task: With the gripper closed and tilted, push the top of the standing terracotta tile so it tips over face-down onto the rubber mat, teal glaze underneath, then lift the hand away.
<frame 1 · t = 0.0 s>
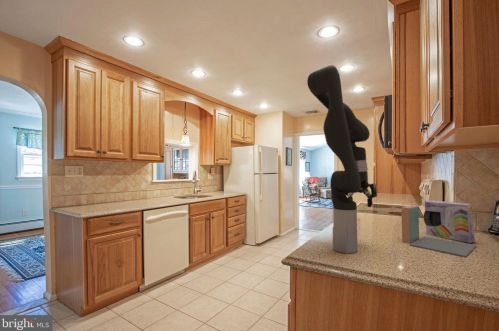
hand: (360, 205, 107), 17 cm above the worktop, tool pointing down, fingers open, 8 cm apart
cake pan box: (447, 238, 115), on the worktop
mat: (442, 246, 102), on the worktop
tile: (410, 240, 112), on the worktop
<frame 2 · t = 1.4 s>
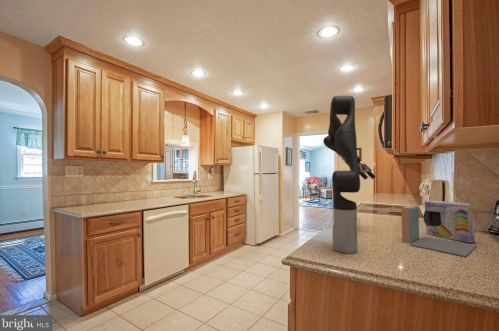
hand: (370, 178, 127), 29 cm above the worktop, tool tilted 45°, fingers open, 8 cm apart
nothing on the worktop moved.
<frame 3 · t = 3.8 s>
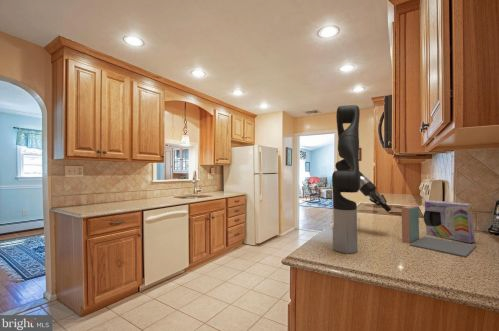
hand: (389, 210, 119), 13 cm above the worktop, tool tilted 45°, fingers closed
nothing on the worktop moved.
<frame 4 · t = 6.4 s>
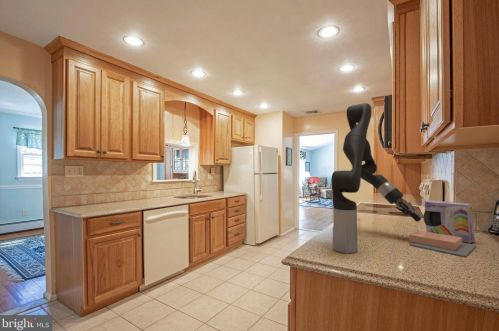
hand: (419, 220, 109), 10 cm above the worktop, tool tilted 45°, fingers closed
tile: (414, 235, 110), point 2 cm above the worktop, tilted 90°, touching mat
everything else where it was.
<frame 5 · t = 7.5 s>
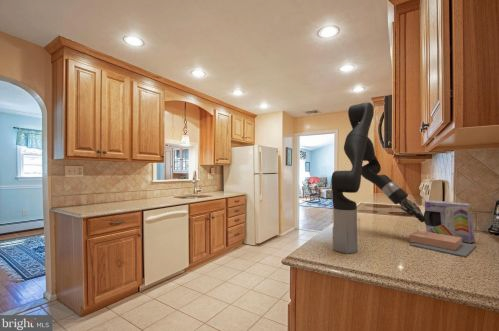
hand: (424, 221, 107), 10 cm above the worktop, tool tilted 45°, fingers closed
nothing on the worktop moved.
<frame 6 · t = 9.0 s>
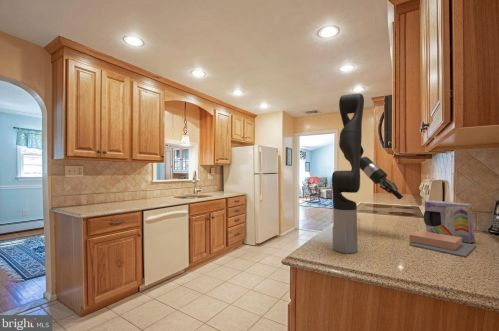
hand: (401, 198, 115), 20 cm above the worktop, tool tilted 45°, fingers closed
nothing on the worktop moved.
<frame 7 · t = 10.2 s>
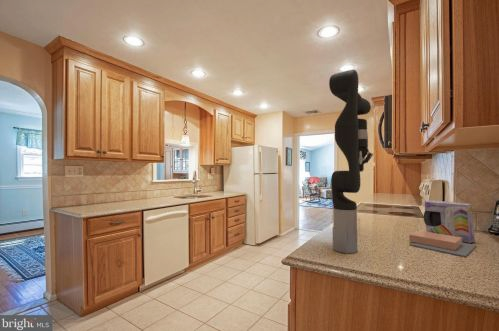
hand: (360, 171, 124), 33 cm above the worktop, tool pointing down, fingers closed
nothing on the worktop moved.
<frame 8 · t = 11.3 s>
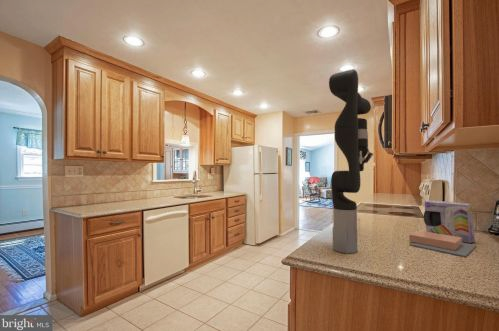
hand: (360, 171, 124), 33 cm above the worktop, tool pointing down, fingers closed
nothing on the worktop moved.
at the end: tile tilted 90°; tile touching mat; tile inside the target area (1.0 cm from its centre), point 2.4 cm above the worktop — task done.
